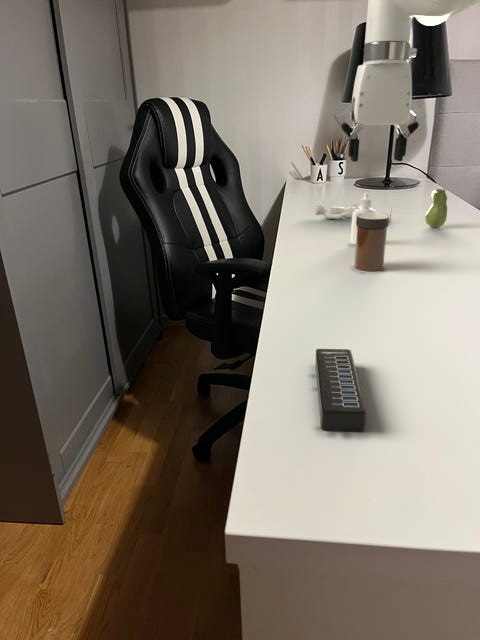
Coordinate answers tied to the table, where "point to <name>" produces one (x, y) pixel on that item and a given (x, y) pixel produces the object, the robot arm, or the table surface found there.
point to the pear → (437, 209)
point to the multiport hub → (339, 391)
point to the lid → (372, 220)
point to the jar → (370, 249)
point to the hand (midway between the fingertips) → (376, 160)
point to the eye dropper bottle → (364, 208)
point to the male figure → (340, 212)
